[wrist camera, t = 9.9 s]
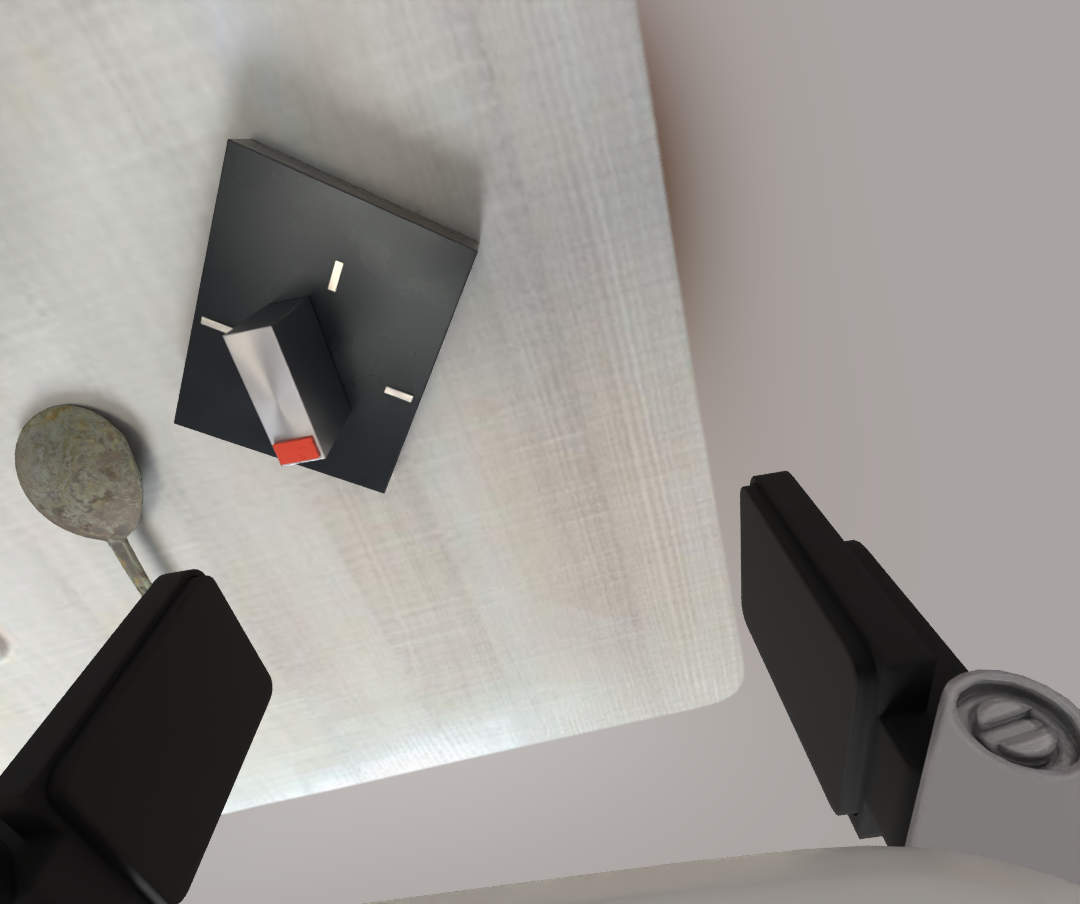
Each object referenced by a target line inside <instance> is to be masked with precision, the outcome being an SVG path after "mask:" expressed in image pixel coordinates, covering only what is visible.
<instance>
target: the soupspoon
mask: <svg viewBox="0 0 1080 904" xmlns="http://www.w3.org/2000/svg"><path fill="white" fill-rule="evenodd" d="M15 467H16V471H17V476H18V479H19V482H20V485H21V487H22V489H23V491H24V492H25V494H26V496H27V497H28V499H29V500H30V502H31V503H32V504H33V505H34V506H35V508H36V509H37V510H38V511H39V512H40V513H41V514H42V515H43V516H45V517H46V518H47V519H48V520H49V521H51V522H52V523H54V524H56V525H57V526H59V527H61V528H63V529H65V530H67V531H69V532H72V533H74V534H76V535H80V536H83V537H87V538H92V539H97V540H104V541H107V542H108V543H109V546H110V547H111V548H112V550H113V551H114V553H115V555H116V556H117V558H118V559H119V561H120V562H121V565H122V567H123V568H124V570H125V571H126V573H127V574H128V576H129V577H130V579H131V580H132V582H133V583H134V585H135V586H136V588H137V590H138V591H139V592H140V594H141V595H142V596H143V595H144V594H145V592H146V591H147V590H148V589H149V587H150V586H151V585H152V583H151V582H150V580H149V578H148V576H147V574H146V573H145V571H144V569H143V567H142V566H141V564H140V562H139V560H138V559H137V557H136V555H135V553H134V551H133V549H132V547H131V546H130V544H129V542H128V540H127V536H128V535H129V534H130V533H131V532H132V531H133V530H134V529H135V528H136V526H137V524H138V522H139V519H140V517H141V510H142V503H143V487H142V483H141V482H142V479H141V475H140V473H139V469H138V468H137V464H136V462H135V459H134V457H133V454H132V452H131V449H130V447H129V445H128V441H127V440H126V438H125V436H123V434H121V432H120V431H119V430H118V429H117V428H116V427H115V426H113V425H112V423H110V422H109V421H108V420H107V419H106V418H104V417H102V416H101V415H99V414H97V413H96V412H93V411H91V410H87V409H85V408H82V407H77V406H72V405H61V406H56V407H51V408H48V409H46V410H44V411H43V412H40V413H38V414H37V415H35V416H34V417H33V418H32V419H31V420H29V421H28V423H27V424H26V425H25V426H24V428H23V430H22V431H21V433H20V435H19V437H18V441H17V444H16V449H15Z"/></svg>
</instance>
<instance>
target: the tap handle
mask: <svg viewBox="0 0 1080 904" xmlns="http://www.w3.org/2000/svg"><path fill="white" fill-rule="evenodd" d="M223 338H224V341H225V343H226V345H227V347H228V349H229V352H230V354H231V356H232V358H233V360H234V363H235V365H236V367H237V369H238V371H239V374H240V376H241V378H242V380H243V382H244V385H245V387H246V389H247V391H248V394H249V396H250V398H251V400H252V402H253V405H254V407H255V409H256V411H257V413H258V416H259V418H260V420H261V422H262V424H263V427H264V429H265V431H266V433H267V435H268V438H269V440H270V442H271V444H272V446H273V449H274V451H275V453H276V455H277V458H278V460H279V462H280V464H281V466H282V467H283V466H289V465H294V464H299V463H304V462H309V461H315V460H320V459H325V458H326V456H327V455H328V453H329V451H330V449H331V448H332V446H333V444H334V442H335V441H336V439H337V437H338V435H339V433H340V432H341V430H342V428H343V426H344V425H345V423H346V421H347V419H348V418H349V416H350V414H351V409H350V406H349V404H348V401H347V398H346V396H345V393H344V390H343V387H342V385H341V382H340V379H339V377H338V374H337V371H336V369H335V366H334V363H333V360H332V358H331V355H330V352H329V350H328V347H327V344H326V341H325V339H324V336H323V333H322V331H321V328H320V325H319V323H318V320H317V317H316V314H315V312H314V309H313V306H312V304H311V301H310V298H309V296H306V297H301V298H297V299H292V300H287V301H282V302H277V303H272V304H268V305H266V306H265V307H263V308H262V309H261V310H259V311H258V312H256V313H255V314H253V315H252V316H250V317H249V318H248V319H246V320H245V321H243V322H242V323H240V324H239V325H237V326H236V327H235V328H233V329H232V330H230V331H229V332H227V333H226V334H224V335H223Z"/></svg>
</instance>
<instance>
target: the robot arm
mask: <svg viewBox="0 0 1080 904" xmlns="http://www.w3.org/2000/svg"><path fill="white" fill-rule="evenodd" d="M740 513H741V514H740V516H741V595H742V596H741V599H742V610H743V615H744V619H745V622H746V624H747V627H748V629H749V631H750V633H751V635H752V637H753V639H754V642H755V644H756V646H757V648H758V650H759V653H760V655H761V657H762V659H763V661H764V663H765V666H766V668H767V670H768V672H769V674H770V676H771V678H772V681H773V682H774V685H775V687H776V689H777V691H778V693H779V696H780V698H781V700H782V702H783V704H784V706H785V709H786V711H787V713H788V715H789V717H790V720H791V722H792V724H793V726H794V728H795V730H796V732H797V734H798V737H799V739H800V741H801V743H802V745H803V747H804V750H805V752H806V754H807V756H808V758H809V761H810V762H811V765H812V767H813V769H814V771H815V774H816V775H817V778H818V780H819V782H820V784H821V786H822V789H823V791H824V793H825V795H826V797H827V799H828V802H829V804H830V805H831V807H832V809H833V811H834V812H835V813H836V814H837V815H838V816H839V815H846V814H848V816H849V818H850V820H851V822H852V824H853V826H854V829H855V831H856V833H857V835H858V837H859V839H864V838H872V837H879V836H883V838H884V840H885V842H886V844H887V846H855V847H838V848H819V849H802V850H792V851H783V852H774V853H765V854H756V855H746V856H737V857H729V858H720V859H709V860H700V861H691V862H682V863H673V864H666V865H658V866H651V867H643V868H634V869H626V870H619V871H611V872H604V873H595V874H587V875H579V876H571V877H564V878H556V879H548V880H540V881H532V882H524V883H516V884H509V885H501V886H493V887H485V888H478V889H471V890H463V891H455V892H448V893H440V894H432V895H425V896H417V897H410V898H403V899H395V900H387V901H380V902H373V903H365V904H1080V709H1079V708H1077V707H1076V706H1075V705H1074V704H1073V703H1072V702H1071V701H1070V700H1069V699H1067V698H1066V697H1064V696H1062V695H1061V694H1059V693H1058V692H1056V691H1054V690H1053V689H1051V688H1050V687H1048V686H1046V685H1044V684H1041V683H1039V682H1037V681H1034V680H1032V679H1029V678H1027V677H1025V676H1022V675H1018V674H1013V673H1009V672H1004V671H1000V670H975V671H970V672H969V671H968V670H967V669H966V668H965V667H964V666H963V664H962V663H961V662H960V661H959V659H958V658H957V657H956V656H955V655H954V653H952V651H951V650H950V649H949V647H948V646H947V645H946V644H945V643H944V641H943V640H942V639H941V638H940V636H938V634H937V633H936V632H935V630H934V629H933V628H932V627H931V626H930V624H929V623H928V622H927V621H926V620H925V618H924V617H923V616H922V615H921V614H920V612H919V611H918V610H917V609H916V608H915V606H914V605H913V604H912V603H911V602H910V600H909V599H908V598H907V597H906V595H905V594H904V593H903V592H902V591H901V590H900V588H899V587H898V586H897V585H896V584H895V582H894V581H893V580H892V579H891V577H890V576H889V575H888V574H887V573H886V572H885V570H884V569H883V568H882V567H881V565H880V564H879V563H878V562H877V561H876V559H875V558H874V557H873V556H872V555H871V553H870V552H869V551H868V550H867V549H866V548H865V547H864V546H863V545H862V544H861V543H860V542H858V541H855V540H850V541H843V539H842V538H841V537H840V535H839V534H838V533H837V531H836V530H835V529H834V528H833V526H832V525H831V524H830V523H829V521H828V520H827V519H826V518H825V516H824V515H823V514H822V512H821V511H820V510H819V509H818V508H817V506H816V505H815V504H814V502H813V501H812V500H811V499H810V497H809V496H808V495H807V494H806V492H805V491H804V490H803V488H802V487H801V486H800V485H799V483H798V482H797V481H796V480H795V478H794V477H793V476H792V475H791V474H790V473H789V472H788V471H782V472H776V473H770V474H764V475H758V476H753V477H752V479H751V482H750V486H744V487H742V488H741V491H740ZM271 695H272V680H271V677H270V675H269V673H268V672H267V670H266V668H265V666H264V665H263V663H262V661H261V659H260V658H259V656H258V654H257V653H256V651H255V649H254V647H253V646H252V644H251V642H250V640H249V639H248V637H247V635H246V634H245V632H244V630H243V628H242V627H241V625H240V623H239V621H238V620H237V618H236V616H235V614H234V613H233V611H232V609H231V608H230V606H229V604H228V602H227V601H226V599H225V597H224V595H223V594H222V592H221V590H220V589H219V587H218V585H217V583H216V582H215V580H214V579H213V578H212V577H210V576H206V575H205V574H204V573H203V572H201V571H200V570H196V569H192V570H186V571H180V572H174V573H168V574H164V575H161V576H159V577H158V578H157V579H156V580H155V581H154V582H153V584H152V585H151V586H150V587H149V589H148V590H147V591H146V592H145V594H144V595H143V596H142V598H141V599H140V600H139V601H138V603H137V604H136V605H135V606H134V608H133V609H132V610H131V611H130V613H129V614H128V615H127V616H126V618H125V619H124V620H123V622H122V623H121V624H120V625H119V627H118V628H117V629H116V630H115V632H114V633H113V634H112V635H111V637H110V638H109V639H108V640H107V642H106V643H105V644H104V646H103V647H102V648H101V649H100V651H99V652H98V653H97V654H96V656H95V657H94V658H93V659H92V661H91V662H90V663H89V664H88V666H87V667H86V668H85V670H84V671H83V672H82V673H81V675H80V676H79V677H78V678H77V680H76V681H75V682H74V683H73V685H72V686H71V687H70V688H69V690H68V691H67V692H66V694H65V695H64V696H63V697H62V699H61V700H60V701H59V702H58V704H57V705H56V706H55V707H54V709H53V710H52V711H51V712H50V714H49V715H48V716H47V718H46V719H45V720H44V721H43V723H42V724H41V725H40V726H39V728H38V729H37V730H36V731H35V733H34V734H33V735H32V736H31V738H30V739H29V740H28V742H27V743H26V744H25V745H24V747H23V748H22V749H21V750H20V752H19V753H18V754H17V755H16V757H15V758H14V759H13V760H12V762H11V763H10V764H9V766H8V767H7V768H6V769H5V771H4V772H3V773H2V774H1V776H0V904H178V903H180V902H181V901H182V900H183V899H184V897H185V896H186V894H187V892H188V890H189V888H190V886H191V883H192V881H193V879H194V876H195V874H196V872H197V869H198V867H199V865H200V862H201V860H202V858H203V855H204V853H205V851H206V848H207V846H208V844H209V841H210V839H211V836H212V834H213V832H214V830H215V827H216V825H217V823H218V820H219V817H220V816H221V813H222V811H223V809H224V806H225V804H226V802H227V799H228V797H229V795H230V792H231V790H232V787H233V785H234V783H235V780H236V778H237V776H238V773H239V771H240V769H241V766H242V764H243V762H244V759H245V757H246V755H247V752H248V750H249V748H250V745H251V743H252V741H253V738H254V736H255V734H256V731H257V729H258V727H259V724H260V722H261V720H262V717H263V715H264V713H265V710H266V708H267V706H268V703H269V701H270V698H271Z"/></svg>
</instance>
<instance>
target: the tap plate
mask: <svg viewBox="0 0 1080 904" xmlns="http://www.w3.org/2000/svg"><path fill="white" fill-rule="evenodd" d="M478 248H479V242H477V241H475V240H472V239H470V238H468V237H466V236H464V235H461V234H459V233H457V232H455V231H452V230H450V229H448V228H446V227H444V226H441V225H439V224H437V223H435V222H433V221H430V220H428V219H426V218H424V217H422V216H419V215H417V214H415V213H413V212H411V211H408V210H406V209H404V208H402V207H400V206H397V205H395V204H393V203H391V202H389V201H386V200H384V199H382V198H380V197H378V196H375V195H373V194H371V193H369V192H367V191H364V190H362V189H360V188H358V187H355V186H353V185H351V184H349V183H347V182H344V181H342V180H340V179H338V178H336V177H333V176H331V175H329V174H327V173H325V172H322V171H320V170H318V169H316V168H314V167H311V166H309V165H307V164H305V163H303V162H300V161H298V160H296V159H294V158H292V157H289V156H287V155H285V154H283V153H281V152H278V151H276V150H274V149H272V148H270V147H267V146H265V145H263V144H261V143H258V142H256V141H254V140H252V139H228V141H227V147H226V152H225V157H224V162H223V168H222V173H221V178H220V183H219V189H218V194H217V199H216V204H215V210H214V215H213V220H212V225H211V231H210V236H209V241H208V246H207V252H206V257H205V262H204V267H203V273H202V278H201V283H200V289H199V294H198V299H197V304H196V310H195V315H194V320H193V325H192V331H191V336H190V341H189V346H188V352H187V357H186V362H185V367H184V373H183V378H182V383H181V388H180V394H179V399H178V404H177V409H176V415H175V420H174V423H175V424H178V425H181V426H184V427H187V428H190V429H193V430H196V431H199V432H202V433H205V434H208V435H211V436H214V437H216V438H219V439H222V440H225V441H228V442H231V443H234V444H237V445H240V446H243V447H246V448H249V449H252V450H255V451H258V452H261V453H264V454H267V455H270V456H273V457H276V458H277V455H276V453H275V451H274V449H273V446H272V444H271V442H270V440H269V438H268V435H267V433H266V431H265V429H264V427H263V424H262V422H261V420H260V418H259V416H258V413H257V411H256V409H255V407H254V405H253V402H252V400H251V398H250V396H249V394H248V391H247V389H246V387H245V385H244V382H243V380H242V378H241V376H240V374H239V371H238V369H237V367H236V365H235V363H234V360H233V358H232V356H231V354H230V352H229V349H228V347H227V345H226V343H225V341H224V338H223V335H224V334H226V333H227V332H229V331H230V330H232V329H233V328H235V327H236V326H237V325H239V324H240V323H242V322H243V321H245V320H246V319H248V318H249V317H250V316H252V315H253V314H255V313H256V312H258V311H259V310H261V309H262V308H263V307H265V306H266V305H268V304H272V303H277V302H282V301H287V300H292V299H297V298H301V297H306V296H309V298H310V301H311V304H312V306H313V309H314V312H315V314H316V317H317V320H318V323H319V325H320V328H321V331H322V333H323V336H324V339H325V341H326V344H327V347H328V350H329V352H330V355H331V358H332V360H333V363H334V366H335V369H336V371H337V374H338V377H339V379H340V382H341V385H342V387H343V390H344V393H345V396H346V398H347V401H348V404H349V406H350V409H351V414H350V416H349V418H348V419H347V421H346V423H345V425H344V426H343V428H342V430H341V432H340V433H339V435H338V437H337V439H336V441H335V442H334V444H333V446H332V448H331V449H330V451H329V453H328V455H327V456H326V458H325V459H320V460H315V461H309V462H304V463H299V464H297V465H300V466H303V467H306V468H309V469H312V470H315V471H318V472H321V473H324V474H327V475H330V476H333V477H336V478H339V479H342V480H345V481H348V482H351V483H354V484H357V485H360V486H363V487H366V488H369V489H372V490H375V491H378V492H381V493H385V491H386V488H387V486H388V483H389V481H390V478H391V475H392V473H393V470H394V468H395V465H396V462H397V460H398V457H399V455H400V452H401V449H402V447H403V444H404V442H405V439H406V436H407V434H408V431H409V429H410V426H411V423H412V421H413V418H414V416H415V413H416V410H417V408H418V405H419V403H420V400H421V397H422V395H423V392H424V390H425V387H426V384H427V382H428V379H429V377H430V374H431V371H432V369H433V366H434V364H435V361H436V359H437V356H438V353H439V351H440V348H441V346H442V343H443V340H444V338H445V335H446V333H447V330H448V327H449V325H450V322H451V320H452V317H453V314H454V312H455V309H456V307H457V304H458V301H459V299H460V296H461V294H462V291H463V288H464V286H465V283H466V281H467V278H468V275H469V273H470V270H471V268H472V265H473V262H474V260H475V257H476V255H477V252H478Z"/></svg>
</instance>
